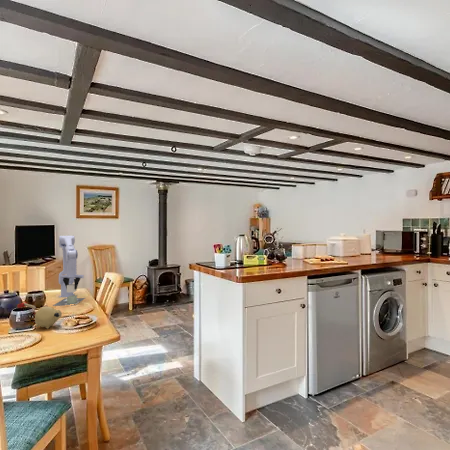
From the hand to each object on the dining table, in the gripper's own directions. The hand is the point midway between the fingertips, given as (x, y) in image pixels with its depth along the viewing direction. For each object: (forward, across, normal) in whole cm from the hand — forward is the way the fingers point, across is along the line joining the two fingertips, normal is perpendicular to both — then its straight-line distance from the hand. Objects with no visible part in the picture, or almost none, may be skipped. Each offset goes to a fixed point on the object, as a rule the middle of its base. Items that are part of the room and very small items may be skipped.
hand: (71, 289), depth 206 cm
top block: (+2, 0, 0) cm, 2 cm away
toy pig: (+10, +6, -48) cm, 50 cm away
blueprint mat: (+9, -3, +4) cm, 11 cm away
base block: (+9, 0, 0) cm, 9 cm away
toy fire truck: (+10, -8, -36) cm, 38 cm away
